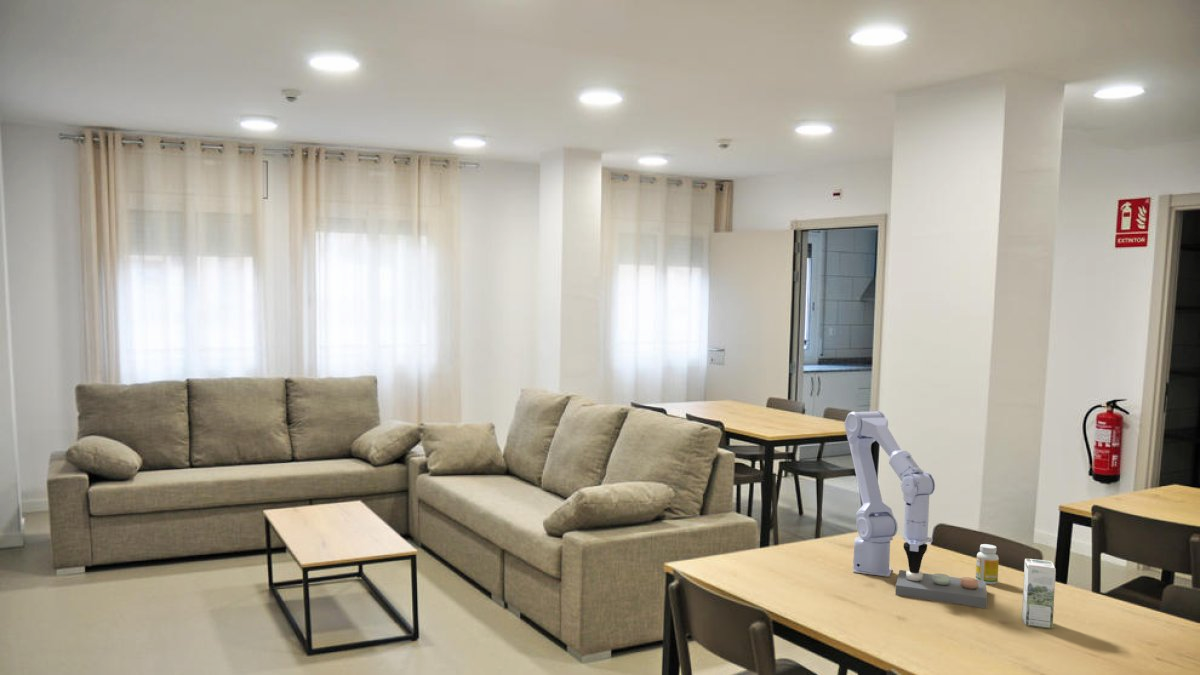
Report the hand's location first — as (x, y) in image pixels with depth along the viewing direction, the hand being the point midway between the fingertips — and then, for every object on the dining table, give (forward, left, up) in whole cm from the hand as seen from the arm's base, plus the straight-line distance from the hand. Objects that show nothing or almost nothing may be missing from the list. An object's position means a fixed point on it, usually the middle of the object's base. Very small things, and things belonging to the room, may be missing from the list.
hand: (914, 572), depth 220 cm
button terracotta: (+13, 0, -4) cm, 13 cm away
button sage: (+6, 0, -4) cm, 7 cm away
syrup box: (+28, -13, -5) cm, 31 cm away
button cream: (0, 0, -4) cm, 4 cm away
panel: (+7, 0, -4) cm, 8 cm away
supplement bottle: (+18, +16, -5) cm, 24 cm away
